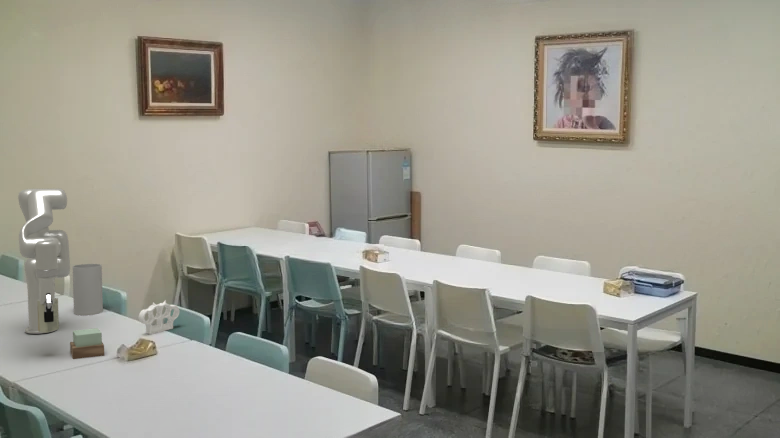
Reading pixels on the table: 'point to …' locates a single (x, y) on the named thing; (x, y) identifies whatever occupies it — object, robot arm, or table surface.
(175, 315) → the white brass knuckles
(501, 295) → the table surface
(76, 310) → the cylinder vase
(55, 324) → the skincare box
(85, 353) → the tower base block
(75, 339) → the tower top block
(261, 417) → the table surface
